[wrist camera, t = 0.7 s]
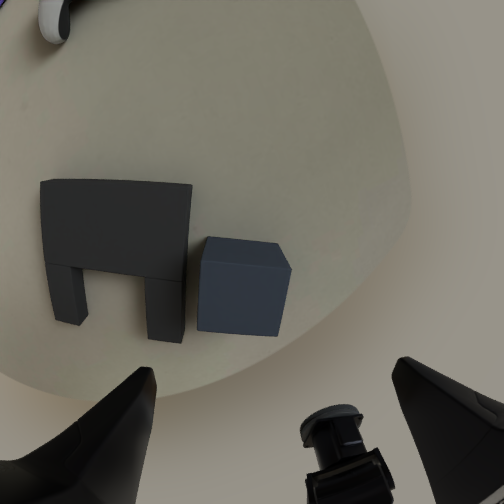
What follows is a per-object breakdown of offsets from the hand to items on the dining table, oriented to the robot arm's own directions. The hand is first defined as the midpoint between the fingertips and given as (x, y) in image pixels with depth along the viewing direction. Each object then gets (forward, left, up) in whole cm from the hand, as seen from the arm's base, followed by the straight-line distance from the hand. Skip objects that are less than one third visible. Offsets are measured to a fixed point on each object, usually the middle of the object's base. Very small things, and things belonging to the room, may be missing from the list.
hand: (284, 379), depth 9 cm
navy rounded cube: (-1, +1, -13) cm, 13 cm away
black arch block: (-1, +11, -13) cm, 17 cm away
